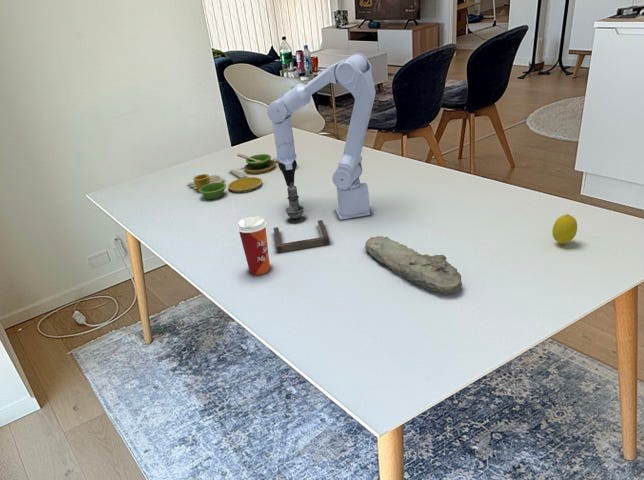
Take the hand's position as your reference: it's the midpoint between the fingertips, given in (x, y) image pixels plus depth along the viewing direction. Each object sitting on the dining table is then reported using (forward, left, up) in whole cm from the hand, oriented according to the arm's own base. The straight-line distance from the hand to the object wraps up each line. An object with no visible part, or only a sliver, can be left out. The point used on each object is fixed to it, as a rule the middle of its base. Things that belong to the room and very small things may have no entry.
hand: (290, 185), depth 180 cm
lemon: (-64, +51, -9) cm, 82 cm away
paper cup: (+13, +38, -9) cm, 41 cm away
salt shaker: (0, +8, -9) cm, 12 cm away
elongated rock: (-25, +51, -9) cm, 57 cm away
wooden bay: (0, +22, -8) cm, 24 cm away
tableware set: (+15, -38, -9) cm, 42 cm away
